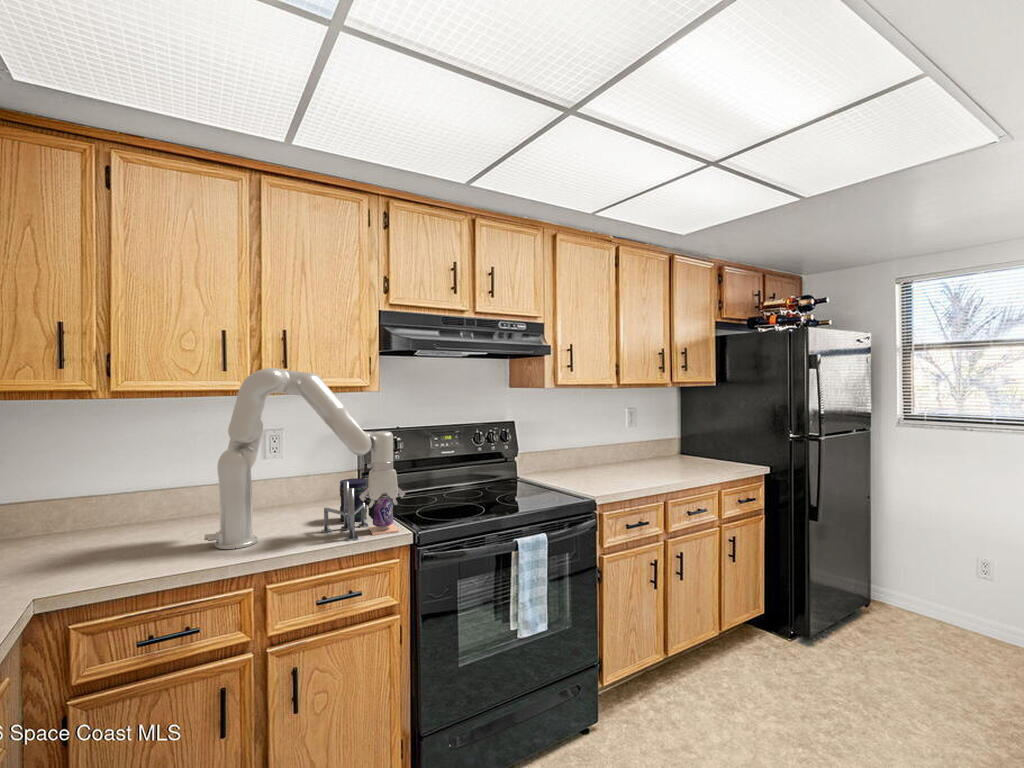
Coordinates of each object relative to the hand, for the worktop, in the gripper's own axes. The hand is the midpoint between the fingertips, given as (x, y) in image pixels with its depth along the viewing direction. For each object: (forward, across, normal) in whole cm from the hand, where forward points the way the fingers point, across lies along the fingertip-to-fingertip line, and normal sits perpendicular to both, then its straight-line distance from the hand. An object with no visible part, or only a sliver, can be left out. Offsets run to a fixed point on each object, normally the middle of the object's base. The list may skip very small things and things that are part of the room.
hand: (382, 516), depth 188 cm
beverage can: (+3, 0, 0) cm, 3 cm away
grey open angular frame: (+5, -11, +1) cm, 12 cm away
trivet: (+5, 0, 0) cm, 5 cm away
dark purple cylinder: (+5, -7, +19) cm, 21 cm away
